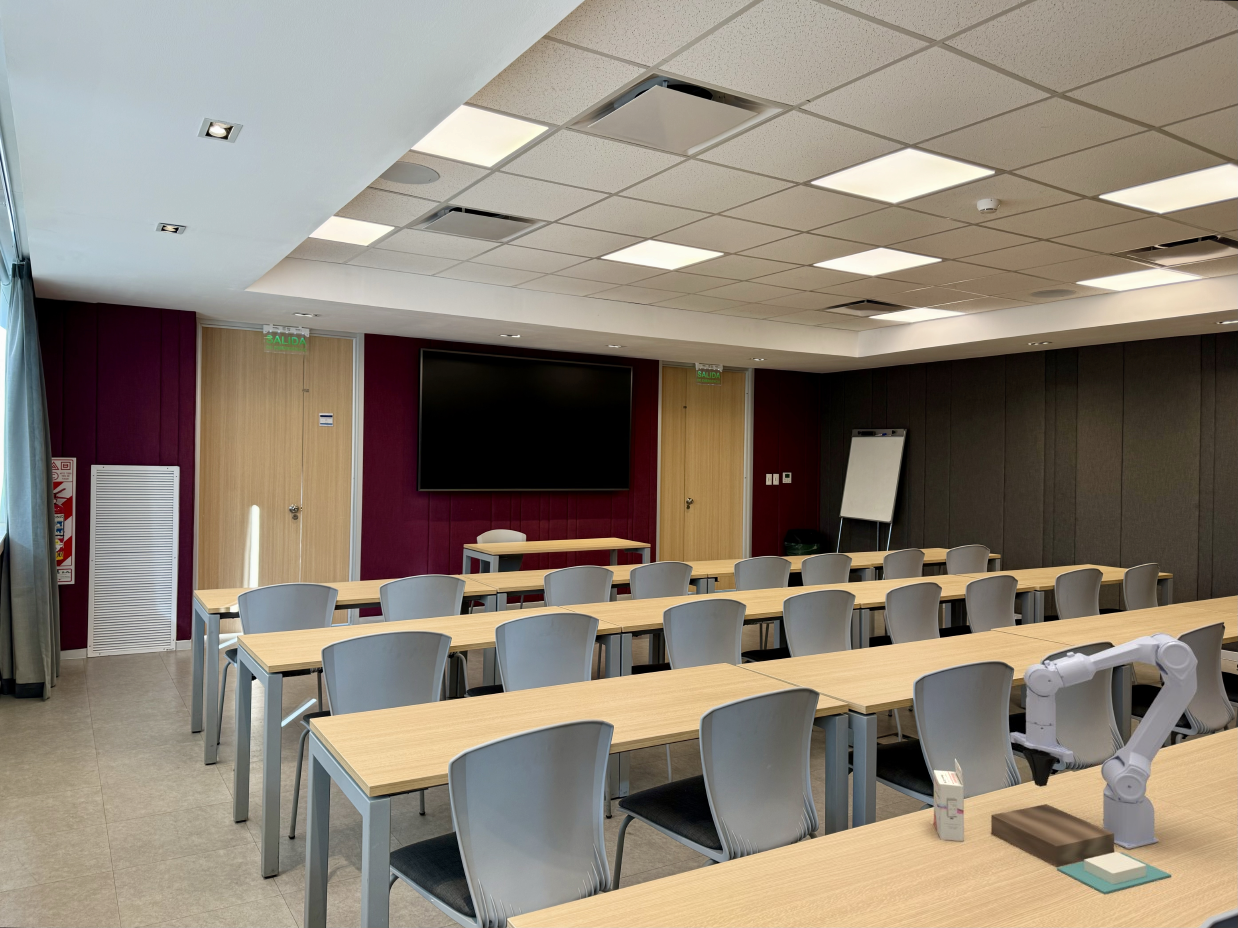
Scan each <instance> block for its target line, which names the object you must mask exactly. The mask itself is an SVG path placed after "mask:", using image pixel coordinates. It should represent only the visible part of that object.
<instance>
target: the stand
mask: <svg viewBox="0 0 1238 928" xmlns="http://www.w3.org/2000/svg"><path fill="white" fill-rule="evenodd" d="M990 818H991V820H990V823H991V826H990V827H991V831H990V834H991V835H993V836H994V837H996V838H999V839H1001V840H1003V841H1005V842H1007V843H1008V844H1010V845H1013V846H1015V847H1016V848H1019V849H1020V850H1023V851H1024V852H1026V853H1028V854H1030V855H1032V856H1034V857H1036V858H1038V859H1040V860H1041V861H1043V862H1046V863H1048V864H1050V865H1052V866H1054V867H1056V868H1059V867H1063V866H1067V865H1071V864H1075V863H1080V862H1084V860H1085V859H1089V858H1093V857H1097V856H1101V855H1106V854H1110V853H1114V852H1115V843H1114V833H1112V832H1110V831H1107V830H1105V829H1103V828H1102V827H1100V826H1098V825H1097V824H1094V823H1091V822H1088V821H1086V820H1085V819H1082V818H1079V817H1077V816H1075V815H1073V814H1070V813H1068V812H1066V811H1063V810H1062V809H1058V808H1056V807H1054V806H1053V805H1049V804H1040V805H1035V806H1031V807H1025V808H1020V809H1014V810H1011V811H1005V812H1004V811H1003V812H1000V813H994V814H991V817H990Z"/></svg>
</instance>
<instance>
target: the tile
mask: <svg viewBox="0 0 1238 928" xmlns="http://www.w3.org/2000/svg"><path fill="white" fill-rule="evenodd" d="M1120 853H1121V852H1118V851H1114V853H1110V854H1106V855H1101V856H1097V857H1093V858H1089V859H1085V860H1084V861H1083V862H1084V870H1085V871H1087V872H1089V873H1091V874H1093V875H1095V876H1097V877H1099V878H1101V879H1103V880H1105V881H1107V882H1109V883H1111V884H1117V883H1121V882H1125V881H1128V880H1132V879H1136V878H1140V877H1144V876H1146V865H1145V864H1142V863H1140V862H1138V861H1136V860H1134V859H1131V858H1129V857H1127V856H1125V855H1123V854H1120Z"/></svg>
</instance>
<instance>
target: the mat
mask: <svg viewBox="0 0 1238 928" xmlns="http://www.w3.org/2000/svg"><path fill="white" fill-rule="evenodd" d="M1119 853H1120V854H1123V855H1125V856H1127V857H1129V858H1131V859H1134V860H1136V861H1138V862H1140V863H1142V864H1145V865H1146V876H1144V877H1140V878H1136V879H1132V880H1128V881H1125V882H1121V883H1117V884H1111V883H1109V882H1107V881H1105V880H1103V879H1101V878H1099V877H1097V876H1095V875H1093V874H1091V873H1089V872H1087V871H1085V870H1084V861H1080V862H1076V863H1072V864H1067V865H1063V866H1059V867H1056V871H1057V872H1061V874H1064V875H1067V876H1068V877H1070V878H1072V879H1074V880H1076V881H1078V882H1080V883H1081V884H1083V885H1085V886H1088V887H1089V886H1090V888H1092V889H1093V888H1094V889H1093V890H1095V891H1097V892H1099V893H1101V894H1103V895H1107V894H1111V893H1115V892H1118V891H1122V890H1127V889H1131V888H1133V887H1138V886H1141V885H1145V884H1149V883H1153V882H1157V881H1160V880H1164V879H1169V878H1171V877H1172V874H1171V873H1168V872H1166V871H1164V870H1161V869H1160V868H1157V867H1155V866H1153V865H1150V864H1148V863H1146V862H1144V861H1142V860H1140V859H1137V858H1135V857H1133V856H1131V855H1129V854H1127V853H1124V852H1119Z"/></svg>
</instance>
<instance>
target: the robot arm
mask: <svg viewBox="0 0 1238 928" xmlns="http://www.w3.org/2000/svg"><path fill="white" fill-rule="evenodd" d="M1133 662H1139V663H1143V664H1147V665H1150V666H1151V665H1152V666H1156V667H1157V668H1158V670H1159V673H1160V675H1161V678H1162V681H1164V685H1163V686H1162V687H1161V689H1160V691H1159V692H1158V693H1157V695H1156V697H1155V698H1154V700H1153V702H1152V703H1151V705H1150V707H1149V708H1148V709H1147V711H1146V713H1145V715H1144V716H1143V717H1142V719H1141V720H1140V722H1139V723H1138V725H1137V727H1136V729H1135V731H1134V732H1133V733H1132V735H1131V736H1130V737H1129V740H1128V741H1127V743H1126V744H1125V746H1122V748H1119V749H1117V751H1115V754H1114V755H1113V756H1111V757H1109V758H1108V759H1105V761H1104V762H1103V763H1102V765H1101V767H1100V773H1101V774H1100V775H1101V776H1102V778H1103V780H1104V781H1105V783H1106V784H1105V787H1104V788H1103V789H1102V790H1103V791H1102V793H1103V794H1102V795H1103V796H1102V798H1103V801H1102V802H1103V803H1102V804H1103V805H1102V807H1103V811H1102V812H1103V813H1102V814H1103V816H1102V817H1103V819H1102V821H1103V823H1102V825H1103V829H1105V830H1107V831H1110V832H1112V833H1114V844H1116V845H1118V846H1120V847H1122V848H1124V849H1133V848H1137V847H1142V846H1146V845H1150V844H1155V843H1158V842H1159V839H1158V838H1156V837H1155V808H1154V805H1153V803H1152V801H1151V799H1150V798H1148V797H1147V796H1146V792H1147V783H1148V780H1149V778H1150V777H1151V774H1152V773H1151V772H1152V771H1151V770H1152V762H1153V761H1154V759H1155V757H1156V756H1157V754H1158V752H1159V751H1160V749H1161V748H1162V746H1163V745H1164V743H1165V741H1166V740H1167V738H1168V737H1169V736H1170V734H1171V732H1172V731H1173V730H1174V728H1175V726H1176V725H1177V723H1178V721H1179V720H1180V718H1181V717H1182V715H1183V714H1184V712H1185V710H1186V709H1187V707H1188V705H1190V703H1191V701H1192V700H1193V698H1194V696H1195V694H1196V693H1197V691H1198V678H1197V665H1198V662H1199V661H1198V659H1197V657H1196V656H1195V654H1194V651H1193V650H1192V648H1191V647H1190V646H1189V645H1188V644H1187V643H1185V642H1183V641H1181V640H1178V639H1177V638H1175V637H1173V636H1172V635H1171V634H1168V633H1165V632H1157V633H1154V634H1152V635H1150V636H1149V635H1142V636H1140V637H1138V638H1135V639H1133V640H1130V641H1128V642H1124V643H1121V644H1119V645H1116V646H1114V647H1111V648H1107V649H1104V650H1102V651H1099V652H1097V653H1094V654H1091V655H1086V654H1083V653H1080V652H1077V653H1074V651H1071V652H1067V653H1066V656H1064V657H1062V658H1058V659H1055V660H1052V661H1050V660H1049V659H1047V660H1045V661H1043V663H1044V664H1041V663H1035V664H1031V665H1029V666H1028V667H1027V669H1026V670H1025V671H1024V674H1023V680H1024V683H1025V684H1026V685H1027V687H1026V698H1025V721H1026V722H1025V734H1024V733H1021V732H1018V731H1015V732H1010V733H1009V735H1010V737H1009V742H1011V743H1014V744H1020V745H1022V746H1023V747H1026V748H1027V749H1026V750H1025V749H1024V750H1023V751H1022V755H1023V756H1024V757H1025V759H1026V761H1027V763H1028V765H1029V768H1030V770H1031V775H1032V777H1033V782H1034V785H1035V786H1038V787H1039V788H1040V787H1041V788H1042V787H1047V786H1048V782H1049V778H1050V775H1051V773H1052V770H1053V768H1054V766H1055V764H1056V763H1057V762H1058V760H1059V759H1060V760H1062V761H1063V762H1065V763H1071V762H1074V761H1075V760H1074V759H1075V756H1074V751H1072V750H1069V749H1067V748H1065V747H1064V746H1063V745H1060V744H1058V743H1057V742H1056V741H1057V737H1056V736H1057V734H1056V733H1057V730H1056V728H1057V727H1056V726H1057V722H1056V719H1057V718H1056V717H1057V716H1056V710H1057V709H1056V708H1057V707H1056V706H1057V703H1056V693H1057V692H1058V690H1059V689H1060V688H1061V689H1063V688H1067V687H1070V686H1073V685H1076V684H1080V683H1083V682H1086V681H1090V680H1092V679H1093V677H1094V676H1095V674H1096V672H1098V671H1102V670H1106V669H1110V668H1114V667H1118V666H1122V665H1126V664H1129V663H1133Z"/></svg>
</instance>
